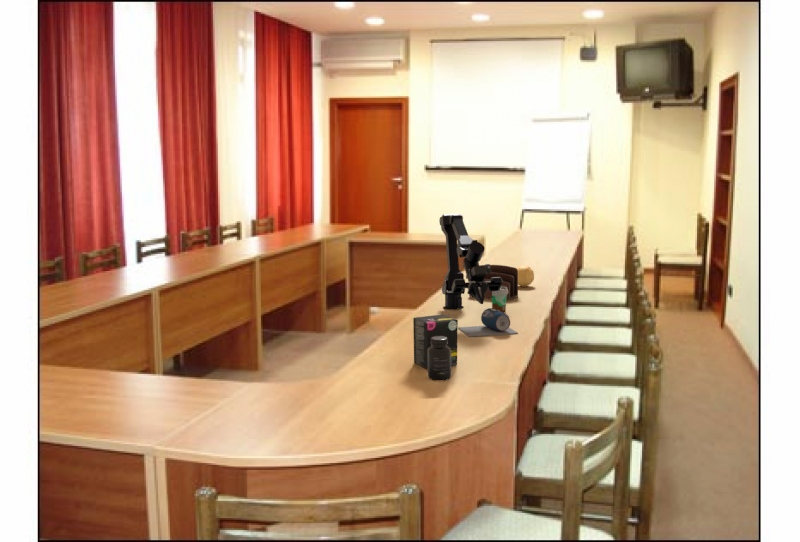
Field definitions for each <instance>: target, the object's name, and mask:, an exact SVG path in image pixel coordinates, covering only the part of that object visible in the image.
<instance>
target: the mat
mask: <svg viewBox="0 0 800 542" xmlns="http://www.w3.org/2000/svg"><path fill="white" fill-rule="evenodd" d="M458 330H460V331H461V332H462V333H464V335H466V336H468V337H469V338H475V337H476V336H480V337H489V336H488V335H494V336H505V335H504V334H508V335H518V333H519V332H518V331H516V330H514V329H513V328H510V327H509V328H508V329H507V330H505V331H501V332H499V331H496V330H494V329H492V328H489V327H487V326H485V325H476V326H475V325H474V326H460V327H458ZM476 338H477V337H476Z"/></svg>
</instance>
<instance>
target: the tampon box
mask: <svg viewBox="0 0 800 542" xmlns="http://www.w3.org/2000/svg"><path fill="white" fill-rule="evenodd" d="M412 319H413V321H412V322H413V364H416V365H417V366H420V367H422V368H423V369H425V370H427V371H428V348H429V347H430V346H432V345H431V337H433V336H445V337H447V342H448V344H447V346H449V347H450V349H451V367H455V366H456V365H457V366H458V330H459V329H458V323H459V321H458V319H456V318H453V317H451V316H449V315H445V314H435V315H425V316H417V317H413V318H412Z"/></svg>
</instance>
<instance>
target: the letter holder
mask: <svg viewBox="0 0 800 542" xmlns="http://www.w3.org/2000/svg"><path fill="white" fill-rule="evenodd" d="M484 265H485V264H482V265H480V264H479V266H484ZM490 266H491V272H490V273H487V274H486V275H485V277H486V278H485V279H484V281H490V279H491V277H501V278H502V281H503V283H502V285H501V286H504V287H507V289H508V294H507V297H506V301H511V299H512V300H514V299H516V298H518V296H519V285H518V270H517V268H518V267H514V266H513V267H512V266H507V265H501V264H490ZM478 289H479V288H478ZM468 295H469V296H472V295H470V294H468ZM489 298H492V291H490V290H489V288H488V289H487V291H486V293H484V299H489Z"/></svg>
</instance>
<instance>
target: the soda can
mask: <svg viewBox="0 0 800 542" xmlns="http://www.w3.org/2000/svg"><path fill="white" fill-rule="evenodd" d="M480 320H481V323H482V325H483V326H487V327H489V328H492V329H494V330H496V331H499V332H501V331H505V330H507V329H508V328H510V326H511V319H510V317H509V316H508V315H507V314H506V312H505V313H502V312H500V311H497V310H495V309H492V307H491V308H490V307H489V308H486V309H485V310H483V312H482V313H481V316H480Z"/></svg>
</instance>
